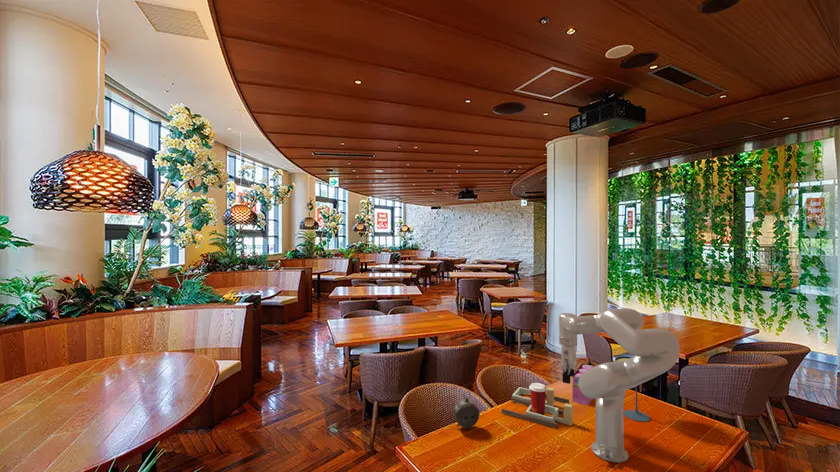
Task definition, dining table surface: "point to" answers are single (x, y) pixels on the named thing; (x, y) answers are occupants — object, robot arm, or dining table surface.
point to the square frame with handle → (527, 391)
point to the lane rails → (534, 419)
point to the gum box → (576, 392)
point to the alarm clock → (466, 413)
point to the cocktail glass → (635, 413)
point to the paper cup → (538, 398)
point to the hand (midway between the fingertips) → (568, 379)
